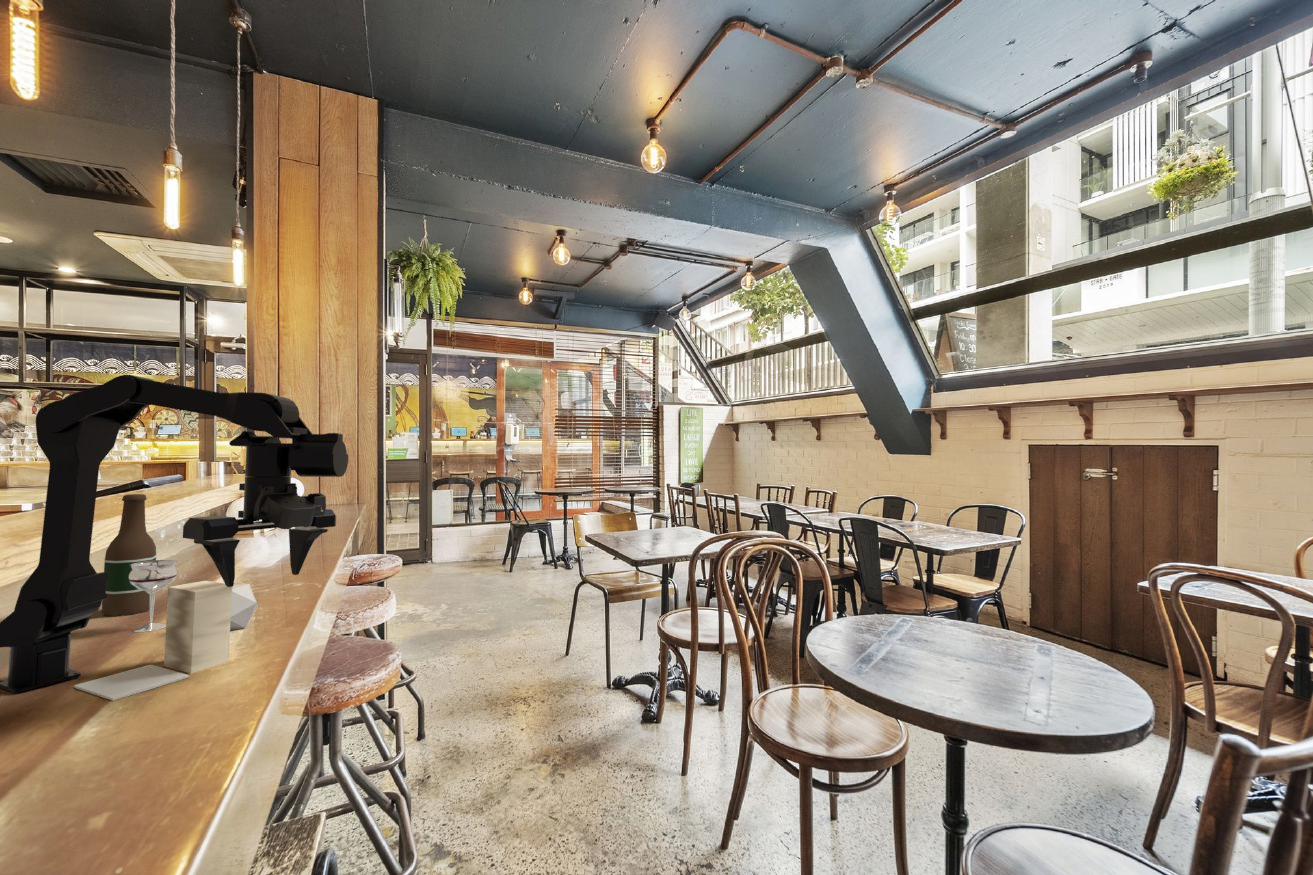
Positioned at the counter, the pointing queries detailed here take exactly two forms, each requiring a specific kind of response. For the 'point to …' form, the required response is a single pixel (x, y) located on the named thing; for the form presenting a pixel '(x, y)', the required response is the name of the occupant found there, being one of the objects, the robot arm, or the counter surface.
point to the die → (242, 606)
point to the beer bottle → (128, 560)
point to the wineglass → (152, 583)
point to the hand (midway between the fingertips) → (264, 580)
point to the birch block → (197, 626)
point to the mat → (130, 682)
